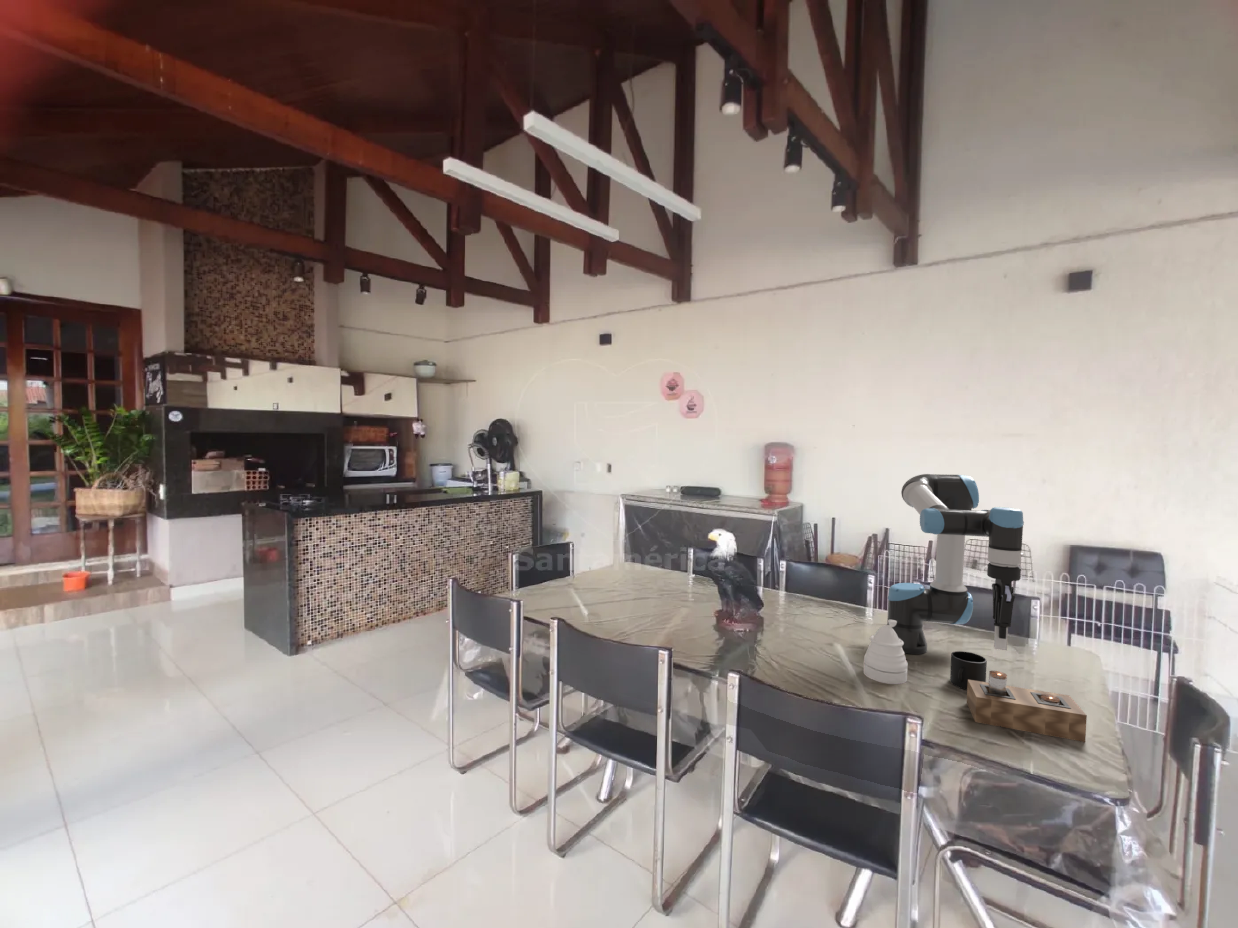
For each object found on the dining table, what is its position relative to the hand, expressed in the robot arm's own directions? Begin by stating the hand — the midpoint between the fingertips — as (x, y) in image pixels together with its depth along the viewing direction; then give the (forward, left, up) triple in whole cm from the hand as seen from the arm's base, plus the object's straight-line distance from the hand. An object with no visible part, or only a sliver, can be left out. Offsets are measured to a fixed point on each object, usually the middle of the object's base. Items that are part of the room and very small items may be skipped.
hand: (1000, 648), depth 152 cm
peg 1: (0, 0, -14) cm, 14 cm away
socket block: (+6, 0, -19) cm, 20 cm away
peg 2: (+12, 0, -19) cm, 22 cm away
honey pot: (-27, +17, -20) cm, 38 cm away
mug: (-4, +19, -20) cm, 28 cm away
